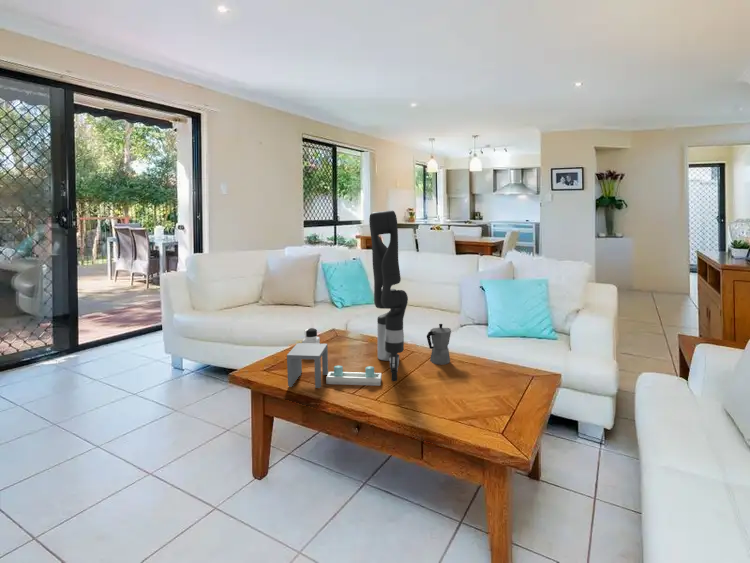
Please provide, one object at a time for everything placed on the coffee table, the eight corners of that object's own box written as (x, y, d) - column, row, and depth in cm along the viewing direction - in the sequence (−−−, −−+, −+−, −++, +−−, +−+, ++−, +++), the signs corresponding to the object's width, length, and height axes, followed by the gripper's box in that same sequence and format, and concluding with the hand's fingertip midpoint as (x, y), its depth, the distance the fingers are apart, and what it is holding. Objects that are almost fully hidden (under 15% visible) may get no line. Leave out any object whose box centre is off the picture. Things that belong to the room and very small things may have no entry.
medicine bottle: (320, 350, 225) (319, 327, 223) (316, 355, 218) (316, 331, 216) (306, 350, 226) (305, 327, 224) (302, 354, 219) (301, 330, 217)
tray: (381, 379, 186) (381, 365, 185) (380, 385, 180) (380, 370, 179) (329, 378, 188) (328, 364, 187) (326, 383, 182) (326, 369, 181)
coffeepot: (442, 356, 216) (442, 319, 213) (457, 361, 208) (458, 323, 206) (419, 363, 206) (419, 325, 203) (434, 368, 199) (435, 329, 196)
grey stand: (328, 373, 193) (327, 343, 191) (320, 388, 177) (319, 355, 175) (298, 373, 194) (297, 343, 192) (288, 387, 179) (286, 355, 176)
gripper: (403, 344, 173) (403, 387, 175) (404, 335, 186) (404, 375, 188) (383, 344, 173) (383, 386, 176) (386, 334, 186) (386, 374, 189)
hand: (394, 380), depth 182 cm, fingers closed
